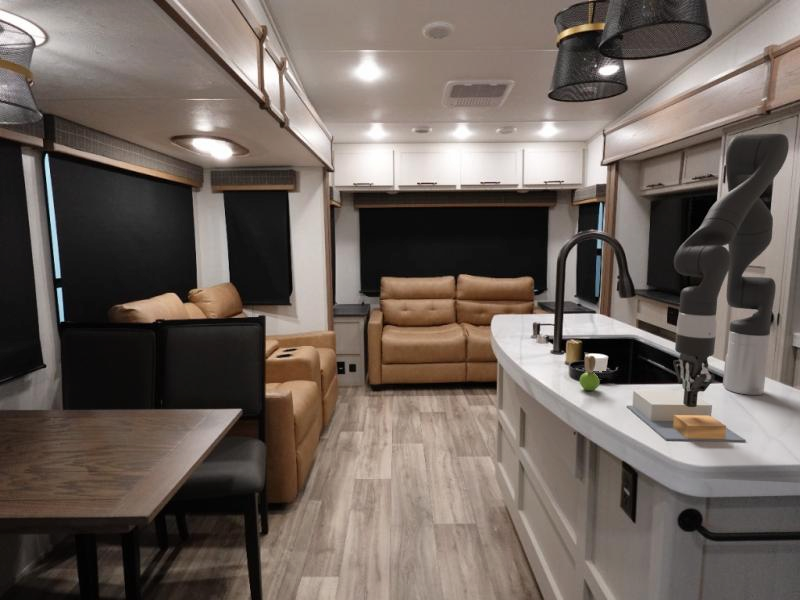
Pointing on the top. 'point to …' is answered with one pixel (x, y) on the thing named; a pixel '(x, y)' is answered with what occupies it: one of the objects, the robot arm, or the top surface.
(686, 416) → the orange flat block
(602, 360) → the white chunky block
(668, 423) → the mat
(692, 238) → the robot arm
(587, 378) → the green maraca
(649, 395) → the white rectangular block
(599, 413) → the top surface
